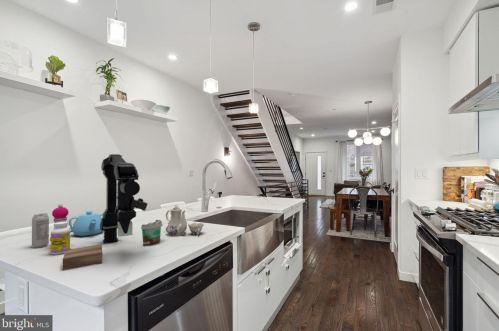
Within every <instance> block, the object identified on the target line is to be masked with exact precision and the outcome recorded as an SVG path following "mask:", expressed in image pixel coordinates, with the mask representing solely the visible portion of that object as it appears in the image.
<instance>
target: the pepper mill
mask: <svg viewBox="0 0 499 331" xmlns="http://www.w3.org/2000/svg"><path fill="white" fill-rule="evenodd" d="M68 215H69V210H68V208H67V207H64V205H63V203H59V204H57V207H56V208H54V209H53V210H52V211H51V216H52V217H53V222H54V223H57V222H68ZM54 228H55V227H54V226H53V229H54ZM49 237H50V238H49V242H51V236H49Z"/></svg>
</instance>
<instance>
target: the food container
mask: <svg viewBox="0 0 499 331" xmlns="http://www.w3.org/2000/svg"><path fill="white" fill-rule="evenodd" d="M140 227H141V228H140V229H141V233H142V246H143V247H144V246H147V247H148V246H155V245H157V244H160V242H161V234H162V232H161V230H162V227H163V222H162V219H161V220H160V219H155V221H154V222H148V223H147V224H141V226H140Z"/></svg>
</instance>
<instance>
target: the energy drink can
mask: <svg viewBox="0 0 499 331" xmlns="http://www.w3.org/2000/svg"><path fill="white" fill-rule="evenodd" d="M49 237H50V216H49V215H48V213H47V212H46V213H45V212H44V213H35V214H33V216H32V217H31V246H32V248H33V249H42V248H46V247H47V246H48V244H49V243H50V238H49Z"/></svg>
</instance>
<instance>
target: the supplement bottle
mask: <svg viewBox="0 0 499 331" xmlns="http://www.w3.org/2000/svg"><path fill="white" fill-rule="evenodd" d="M68 226H69V221H66V222H57V223H55V222H54V223H53V229H52V230H51V231H50V237H51V241H50V254H51V255H53V256H58V255H64V254H65V252H66V250H67V249H71V233H70V231H71V229H70V227H68ZM54 227H55V228H54Z"/></svg>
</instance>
